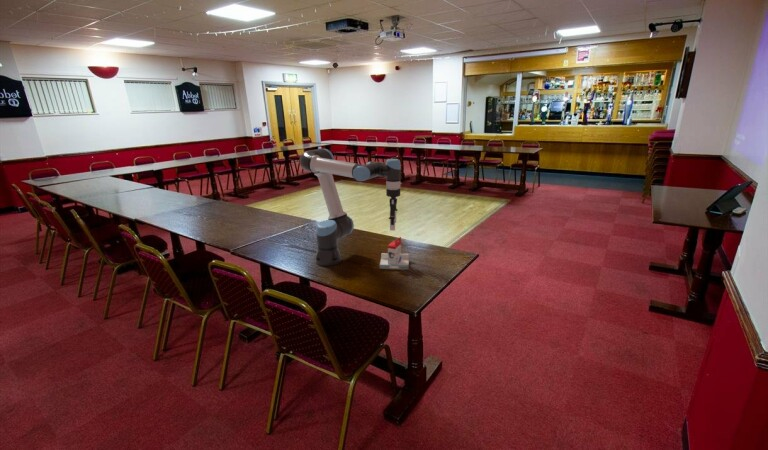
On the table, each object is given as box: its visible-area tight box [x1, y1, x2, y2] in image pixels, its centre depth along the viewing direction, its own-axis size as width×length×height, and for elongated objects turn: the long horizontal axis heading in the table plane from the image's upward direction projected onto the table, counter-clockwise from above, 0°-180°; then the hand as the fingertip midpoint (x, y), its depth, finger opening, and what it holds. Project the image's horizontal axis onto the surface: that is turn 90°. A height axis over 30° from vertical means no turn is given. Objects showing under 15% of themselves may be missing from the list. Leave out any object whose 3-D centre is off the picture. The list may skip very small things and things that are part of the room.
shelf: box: [379, 252, 410, 271], centre depth 205 cm, size 16×12×4 cm
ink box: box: [387, 236, 402, 265], centre depth 203 cm, size 8×5×15 cm, turn 156°
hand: (393, 226), depth 200 cm, fingers open, 13 cm apart
